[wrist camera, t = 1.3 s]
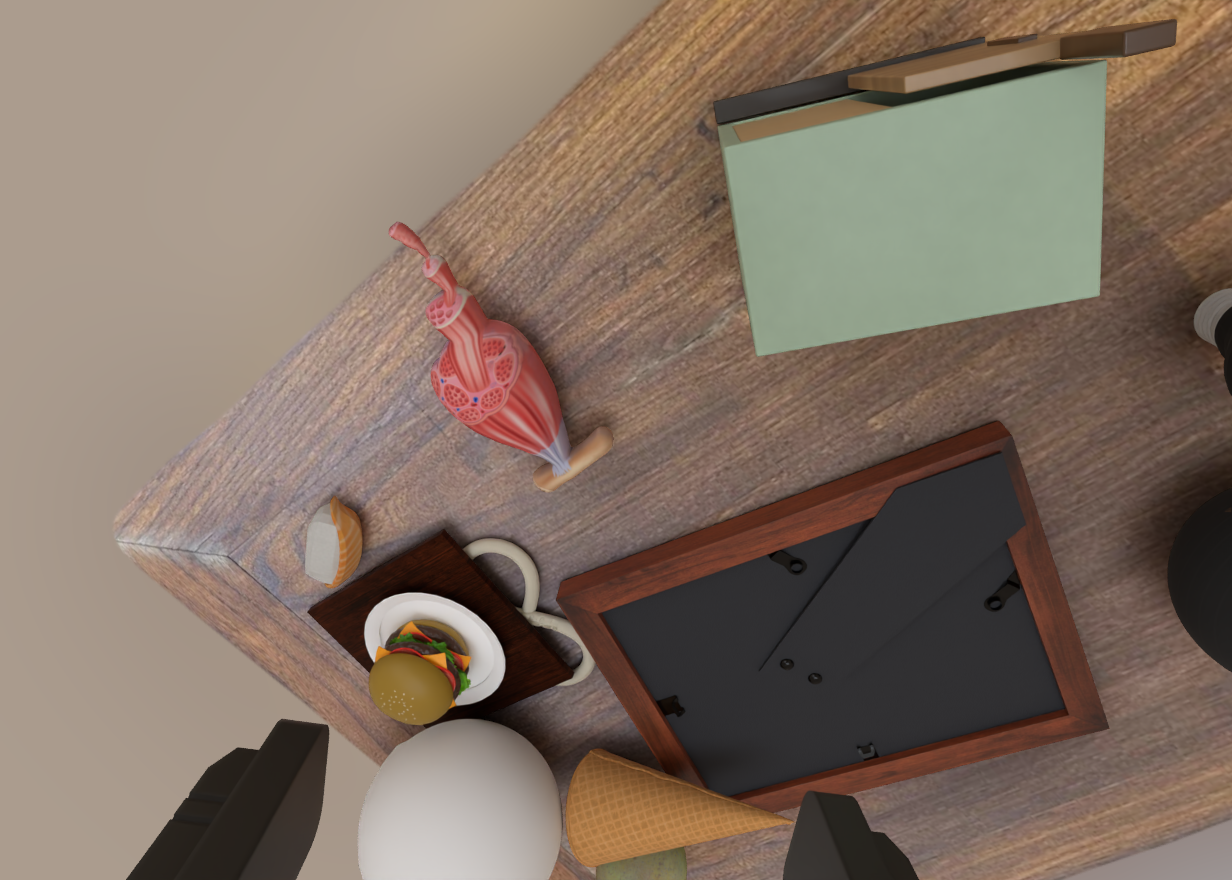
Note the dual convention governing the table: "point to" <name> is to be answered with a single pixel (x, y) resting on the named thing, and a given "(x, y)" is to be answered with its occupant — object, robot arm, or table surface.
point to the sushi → (333, 544)
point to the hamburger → (439, 637)
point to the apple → (647, 867)
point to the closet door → (1016, 56)
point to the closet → (914, 199)
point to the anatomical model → (499, 379)
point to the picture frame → (847, 632)
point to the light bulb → (1217, 326)
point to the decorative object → (534, 598)
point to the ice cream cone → (647, 811)
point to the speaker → (1205, 577)
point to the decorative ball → (461, 808)
